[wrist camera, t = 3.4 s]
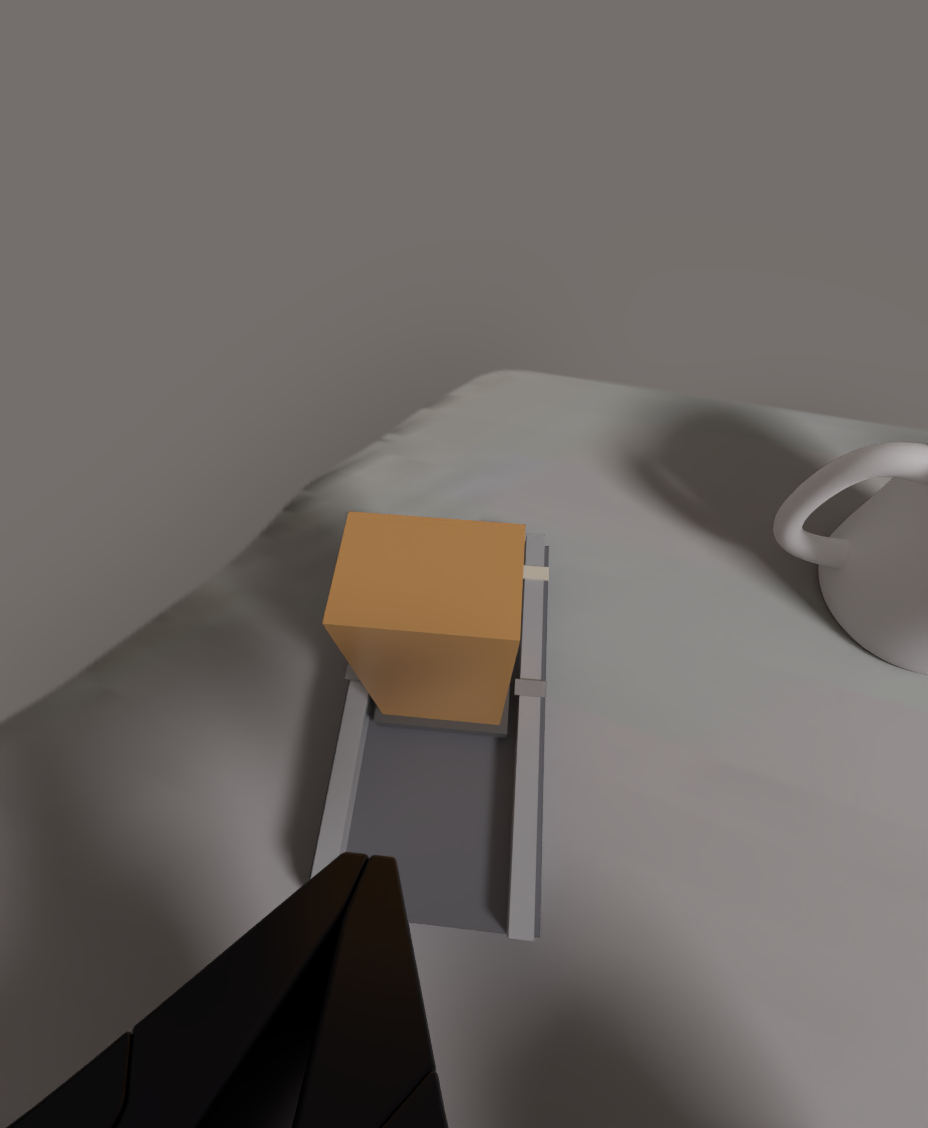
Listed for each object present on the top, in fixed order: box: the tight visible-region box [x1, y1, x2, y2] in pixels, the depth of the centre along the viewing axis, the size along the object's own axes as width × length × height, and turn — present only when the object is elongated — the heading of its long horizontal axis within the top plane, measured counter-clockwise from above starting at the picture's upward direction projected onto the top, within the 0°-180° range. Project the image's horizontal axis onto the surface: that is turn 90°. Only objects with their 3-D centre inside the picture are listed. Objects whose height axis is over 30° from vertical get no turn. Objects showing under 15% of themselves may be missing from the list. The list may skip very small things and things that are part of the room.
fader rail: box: [309, 533, 549, 941], centre depth 21 cm, size 15×8×3 cm, turn 175°
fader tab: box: [322, 512, 526, 738], centre depth 17 cm, size 4×5×10 cm
